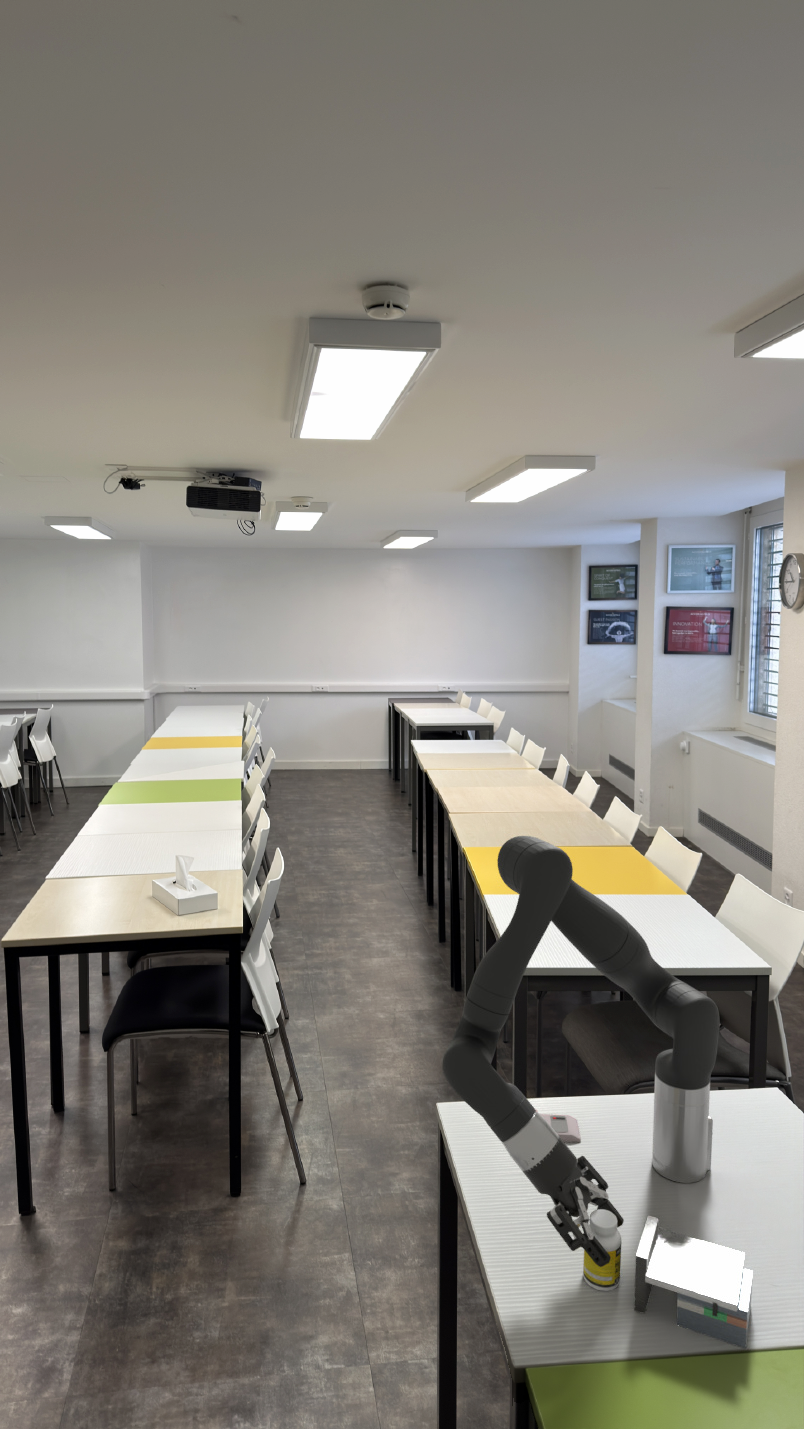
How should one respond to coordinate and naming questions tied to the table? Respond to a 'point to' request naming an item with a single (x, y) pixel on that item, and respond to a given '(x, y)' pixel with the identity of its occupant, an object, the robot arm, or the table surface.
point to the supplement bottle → (610, 1239)
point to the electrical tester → (564, 1126)
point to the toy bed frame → (686, 1268)
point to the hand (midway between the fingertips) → (612, 1243)
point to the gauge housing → (718, 1315)
